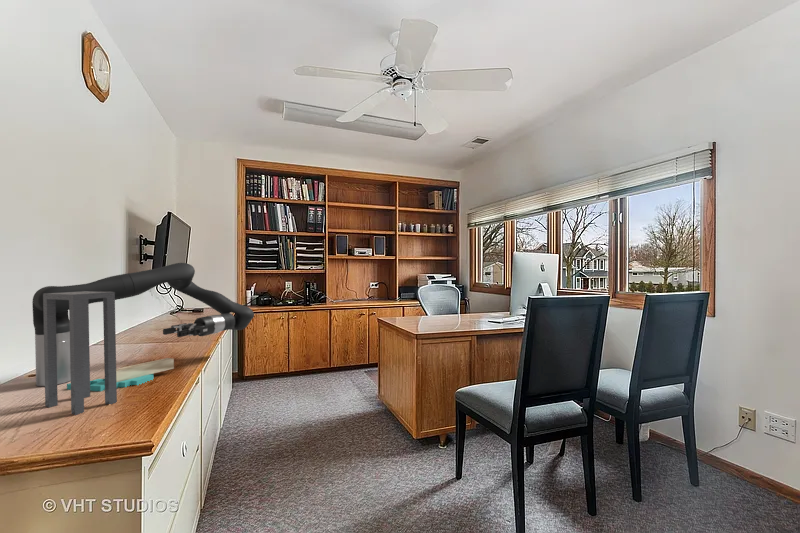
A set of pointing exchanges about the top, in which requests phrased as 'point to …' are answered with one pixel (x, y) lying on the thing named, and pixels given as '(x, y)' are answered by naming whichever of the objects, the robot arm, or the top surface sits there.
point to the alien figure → (100, 383)
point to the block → (144, 369)
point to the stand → (79, 347)
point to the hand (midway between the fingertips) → (170, 333)
